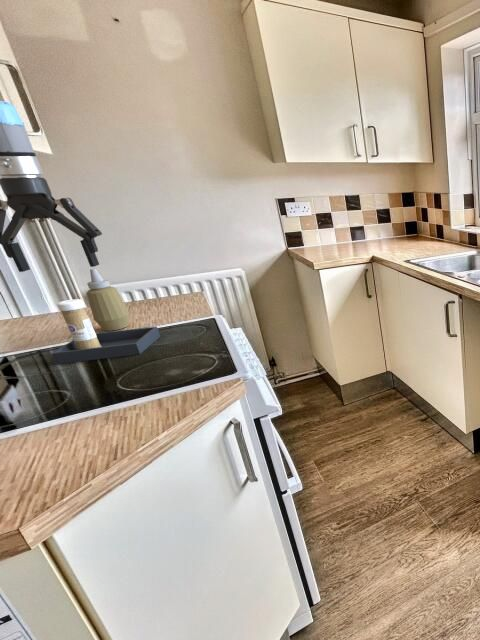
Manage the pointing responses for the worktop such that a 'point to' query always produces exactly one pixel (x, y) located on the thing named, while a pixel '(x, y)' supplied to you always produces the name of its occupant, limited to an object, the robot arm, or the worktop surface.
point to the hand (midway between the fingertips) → (60, 268)
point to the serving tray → (109, 346)
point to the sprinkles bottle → (79, 324)
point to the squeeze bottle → (106, 304)
